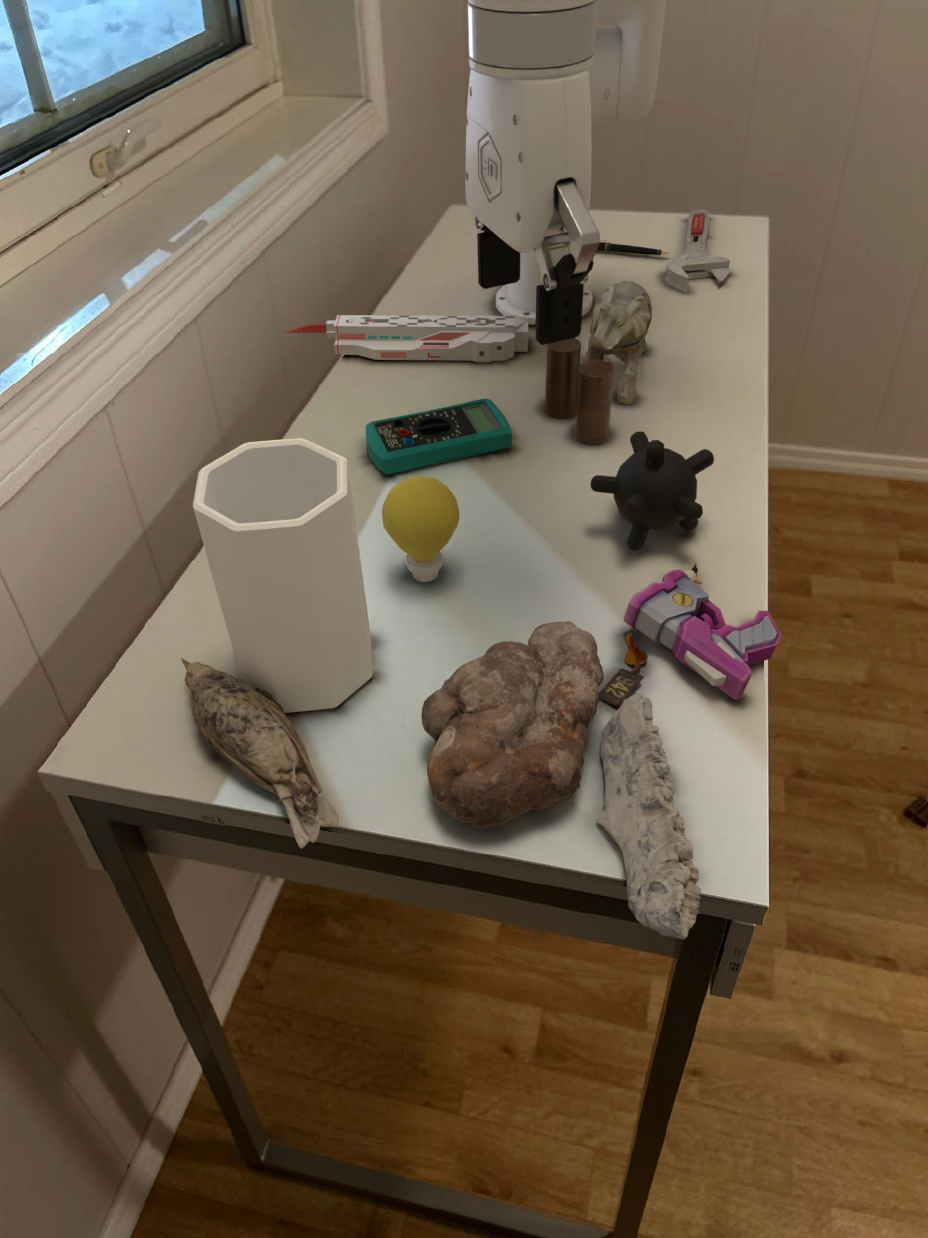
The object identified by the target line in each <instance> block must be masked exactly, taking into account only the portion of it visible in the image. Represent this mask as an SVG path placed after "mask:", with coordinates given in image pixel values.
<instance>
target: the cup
mask: <svg viewBox="0 0 928 1238" xmlns="http://www.w3.org/2000/svg"><path fill="white" fill-rule="evenodd" d="M193 496H194V497H193V502H192V508H193V512H194V516H195V519H196V523H197V526H198V530H199V533H200V536H201V540H202V544H203V548H204V551H205V555H206V558H207V562H208V566H209V569H210V573H211V576H212V580H213V583H214V587H215V590H216V594H217V598H218V601H219V604H220V608H221V612H222V615H223V620H224V622H225V626H226V630H227V634H228V636H229V641H230V643H231V644H230V645H231V647H232V651H233V655H234V659H235V662H236V665H237V668H238V673H239V676H240V679H241V680H243V681H244V682H246V683H247V684H249V685H250V686H251V687H252V688H253V689H255V688H259V689H260V690H261V691H262V690H264V691H267V692H268V693H269V694H270V695H271V696H272V698H273V700H274V701H276V702H277V703H278V704H279V705H280V706H281V707H282V708H283V711H284V714H287V713H296V712H298V713H299V712H307V711H319V710H329V709H335V708H337V707H339V705H342V703H343V702H344V701H345V700H347V699H348V698H349V697H350V696H351V695H352V694H354V693H355V692H357V690H358V689H360V688H361V687H362V686H363V685H365V684H366V683H367V682H368V681H369V680H370V679H372V677H373V675H374V669H373V668H374V667H373V665H374V664H373V644H372V634H371V627H370V620H369V611H368V604H367V596H366V589H365V584H364V576H363V567H362V561H361V555H360V554H361V553H360V546H359V539H358V532H357V524H356V518H355V510H354V503H353V496H352V488H351V481H350V473H349V468H348V460H347V458H346V457H344V456H342V455H340V454H338V453H336V452H333V451H332V450H329V449H327V448H325V447H323V446H321V445H318V444H317V443H315V442H312V441H311V440H308V439H306V438H303V437H297V438H283V439H272V440H259V441H247V442H244V443H242V444H240V445H239V446H237V447H236V448H234V449H232V450H231V451H229V452H227V453H225V454H224V455H222V456H220V457H218V458H217V459H215V460H213V461H212V462H210V463H208V464H207V465H205V466H203V467H202V468H201V469H200V470H199V471H198V473H197V479H196V485H195V491H194V495H193Z"/></svg>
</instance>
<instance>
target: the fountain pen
mask: <svg viewBox="0 0 928 1238" xmlns="http://www.w3.org/2000/svg"><path fill="white" fill-rule="evenodd" d="M597 251H598V252H606V253H609V252H613V253H622V254H632V255H633V254H634V255H646V256H662V255H668V254H669V255H670V254H671V252H669V251H663V250H662V249H658V248H651V247H644V246H637V245H629V244H622V243H621V244H620V243H612V242H608V241H607V239H600V243H599V245H598V248H597ZM597 251H596V252H597Z"/></svg>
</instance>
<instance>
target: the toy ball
mask: <svg viewBox="0 0 928 1238" xmlns="http://www.w3.org/2000/svg"><path fill="white" fill-rule="evenodd" d="M629 441H630V445H631V447H632V450H633V453H632V454H631V455H629V457H628V458H626V460H625V461H623V463H621V465H620V466H619V468H618V470H617V473H616V475H615V476H610V475H602V474H598V475H597V474H596V475H594V476H592V477H591V479H590V489H591V490H592V491H593V492H595V493H603V494H611V495H613V500H614V502H615V505H616V507H617V510H618V513H620V514H621V515H622V517H623V518H624V519H625V520H626V521H627V522H628V523H630V524H631V527H630V531H629V534H628V537H627V539H626V547H627V548H628V549H629V550H630V551H633V552H638V551H641V550H643V548H644V546H645V544H646V542H647V541H646V540H647V538H648V536H649V535H648V534H649V532H650V531H662V530H667V529H668V528H669V529H670V528H672V527H675V526H677V525H678V526H680V527H681V528H682V529H683V530H684V531H686V532H691V531H694V530H695V529H696V528H697V527H698V524H699V519H700V518H701V517H702V515H703V514H704V512H703V511H704V510H703V506H702V504H700V503H698V502H696V500H697V497H698V496H697V495H698V479H697V477H696V475H698V474H699V473H701V472H703V471H705V470H707V469H708V468H710V467H711V466H712V465H713V464H714V462H715V456H714V454H713V452H712V451H711V450H709V449H708V448H703V449H700V450H699V451H697V452H696V453H694V454H692V455H690V456H689V457H688V458H685V457H684V456H683V454H680V453H678V452H676V451H675V450H672V449H670V448H668V447H667V448H666V447H665V443H664V442H662V441H661V440H659V439H652V440H651V441H649V437H648V435H647V434H646V432H644V431H635V432H633V434H631V436H630V437H629Z"/></svg>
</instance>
